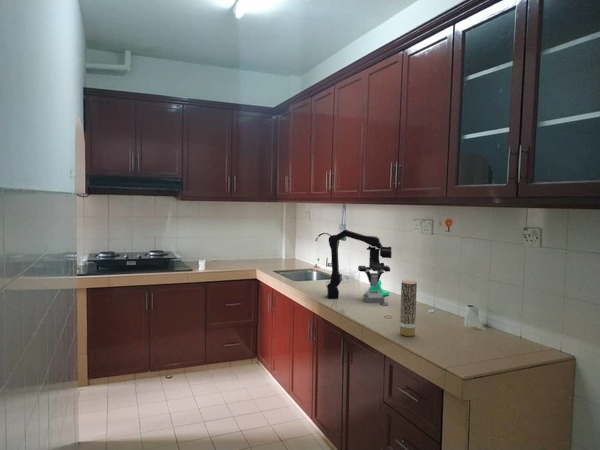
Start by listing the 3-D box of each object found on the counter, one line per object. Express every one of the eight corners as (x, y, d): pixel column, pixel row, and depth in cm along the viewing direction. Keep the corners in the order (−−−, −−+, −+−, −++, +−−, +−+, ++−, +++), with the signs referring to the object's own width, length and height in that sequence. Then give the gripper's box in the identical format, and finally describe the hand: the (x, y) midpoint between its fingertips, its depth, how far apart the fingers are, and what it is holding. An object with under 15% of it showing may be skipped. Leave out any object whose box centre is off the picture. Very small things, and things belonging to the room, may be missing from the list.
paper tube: (417, 334, 188) (419, 281, 186) (410, 337, 183) (411, 283, 182) (404, 330, 193) (406, 279, 191) (397, 334, 188) (398, 280, 186)
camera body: (366, 302, 244) (366, 293, 244) (363, 299, 252) (363, 290, 252) (384, 302, 245) (384, 293, 245) (380, 299, 253) (380, 290, 253)
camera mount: (390, 296, 263) (390, 280, 262) (381, 297, 259) (382, 281, 258) (376, 292, 273) (376, 277, 272) (368, 293, 268) (368, 278, 268)
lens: (370, 285, 245) (371, 274, 245) (369, 284, 250) (369, 273, 249) (378, 285, 245) (378, 274, 245) (376, 284, 250) (376, 273, 249)
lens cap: (379, 306, 238) (379, 304, 238) (379, 303, 243) (379, 302, 243) (388, 306, 237) (388, 305, 237) (388, 304, 242) (388, 303, 242)
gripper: (362, 259, 238) (361, 285, 239) (393, 259, 239) (392, 285, 240) (358, 256, 249) (357, 281, 250) (387, 256, 250) (387, 281, 251)
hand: (373, 282), depth 247 cm, fingers closed on lens, 4 cm apart
